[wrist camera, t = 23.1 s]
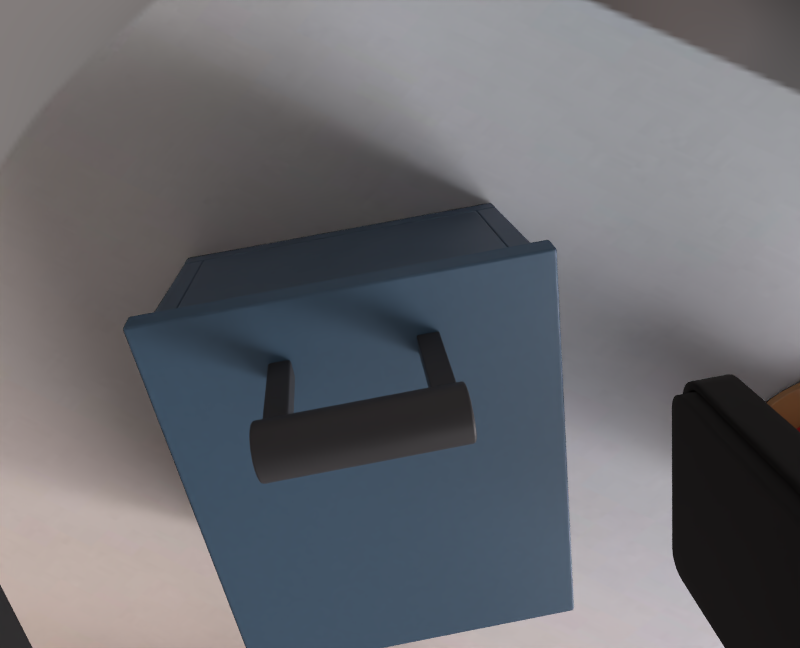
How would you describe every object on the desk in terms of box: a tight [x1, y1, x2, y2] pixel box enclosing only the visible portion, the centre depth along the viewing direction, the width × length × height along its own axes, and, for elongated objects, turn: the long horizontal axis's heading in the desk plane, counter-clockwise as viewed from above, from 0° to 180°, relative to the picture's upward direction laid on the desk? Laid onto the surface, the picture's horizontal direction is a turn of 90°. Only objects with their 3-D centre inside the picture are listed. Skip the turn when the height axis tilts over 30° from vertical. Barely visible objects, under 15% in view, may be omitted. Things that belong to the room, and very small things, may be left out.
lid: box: [123, 240, 574, 648], centre depth 22 cm, size 15×13×5 cm
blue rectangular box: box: [155, 203, 530, 312], centre depth 29 cm, size 15×13×7 cm
